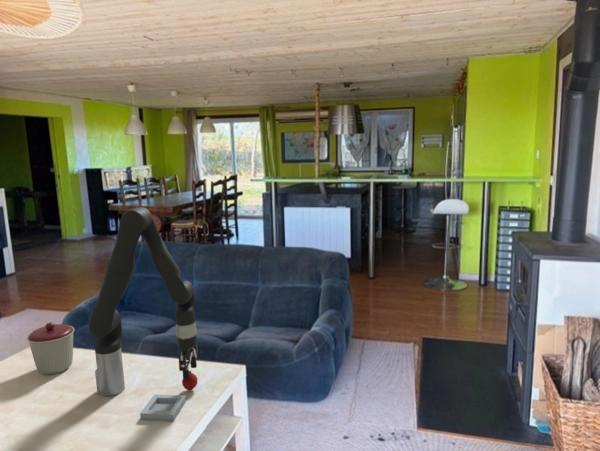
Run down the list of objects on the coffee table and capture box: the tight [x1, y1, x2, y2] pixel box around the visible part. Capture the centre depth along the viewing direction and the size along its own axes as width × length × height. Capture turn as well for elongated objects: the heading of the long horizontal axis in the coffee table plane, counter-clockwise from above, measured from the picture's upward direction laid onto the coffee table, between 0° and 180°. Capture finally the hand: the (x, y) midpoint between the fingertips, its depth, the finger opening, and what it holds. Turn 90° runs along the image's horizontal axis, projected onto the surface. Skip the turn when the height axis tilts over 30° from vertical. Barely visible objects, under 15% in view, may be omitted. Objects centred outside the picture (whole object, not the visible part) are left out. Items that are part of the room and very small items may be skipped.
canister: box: [26, 321, 75, 375], centre depth 195 cm, size 18×18×21 cm
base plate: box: [139, 394, 187, 422], centre depth 164 cm, size 12×12×2 cm
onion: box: [181, 370, 199, 391], centre depth 176 cm, size 6×6×8 cm
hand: (190, 373), depth 176 cm, fingers open, 8 cm apart
